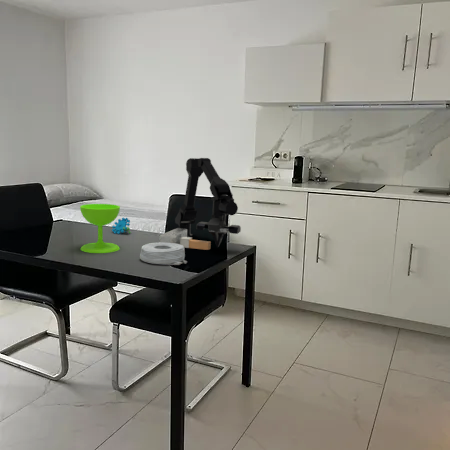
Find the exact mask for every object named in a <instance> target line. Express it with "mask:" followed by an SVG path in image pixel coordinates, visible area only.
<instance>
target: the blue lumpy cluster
mask: <svg viewBox="0 0 450 450" xmlns="http://www.w3.org/2000/svg"><path fill="white" fill-rule="evenodd" d="M130 223H131V221H130V219H129V218H128V217H126V218H125V217H122V218H119V219H117V221H115V222H114V223H113V224H114V225H112V229H111V231H112V232H113V233H114V235H116V234H117V235H120V234H121V233H122V234H123V233H129V234H130V233H131V234H132V232H131V231H130V230H131V228H130V225H131V224H130Z"/></svg>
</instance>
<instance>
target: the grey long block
mask: <svg viewBox="0 0 450 450" xmlns="http://www.w3.org/2000/svg"><path fill="white" fill-rule="evenodd" d="M158 237H159V239H158V240H159V241H158V243H175V244H180V238H182V237H187V229H182V228H179V227H177V228H174V229H172V230H170V231H167V232H164V233H162V234H160V235H159V236H158Z"/></svg>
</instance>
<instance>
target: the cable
mask: <svg viewBox="0 0 450 450" xmlns="http://www.w3.org/2000/svg"><path fill="white" fill-rule="evenodd" d="M185 253H186V251H185V248H184V247H183V245H180V244H175V243H159V242H150V243H146V244H144V245H142V246H141V250H140V255H139V258H140V260H141V261H142V262H145V263H149V264H153V265H162V266H163V265H164V266H165V265H166V266H173V265H174V266H180V265H181V264H184V265H187V263H188V261H187V260H185V257H186V254H185Z"/></svg>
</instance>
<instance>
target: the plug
mask: <svg viewBox="0 0 450 450" xmlns="http://www.w3.org/2000/svg"><path fill="white" fill-rule="evenodd" d="M211 243H212V242H211V241H207V240H201V239H200V240H198V239H193V237H192V236H190V237H182V238H180V245H183V247H184V249H185V248H186V249H197V250H204V251H205V250H206V251H209V250H211V245H212V244H211Z"/></svg>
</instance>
